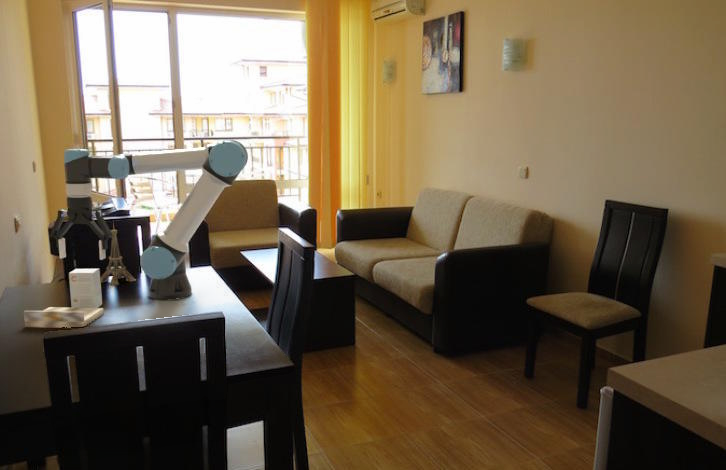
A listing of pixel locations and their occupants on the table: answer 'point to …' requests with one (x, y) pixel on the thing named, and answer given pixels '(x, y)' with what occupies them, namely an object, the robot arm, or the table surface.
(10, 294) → the table surface
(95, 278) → the small box
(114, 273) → the eiffel tower
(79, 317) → the shelf board
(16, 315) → the table surface
